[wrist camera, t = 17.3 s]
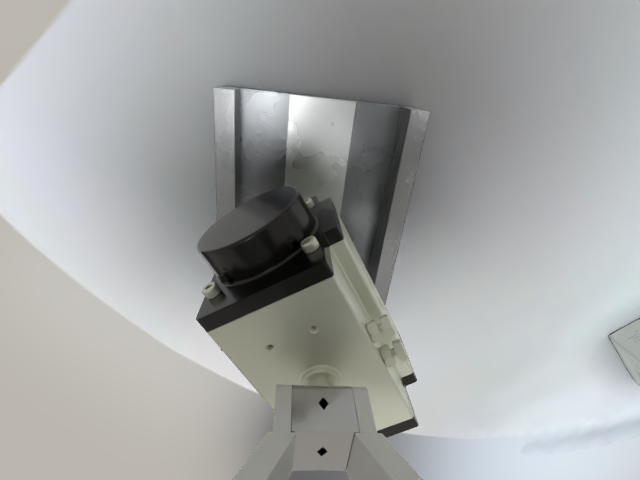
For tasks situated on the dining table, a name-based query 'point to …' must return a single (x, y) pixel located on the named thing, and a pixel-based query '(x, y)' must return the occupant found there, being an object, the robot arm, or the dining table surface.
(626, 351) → the small box
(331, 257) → the pneumatic valve
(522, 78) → the dining table surface
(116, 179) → the dining table surface
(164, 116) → the dining table surface
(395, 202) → the rail plate
